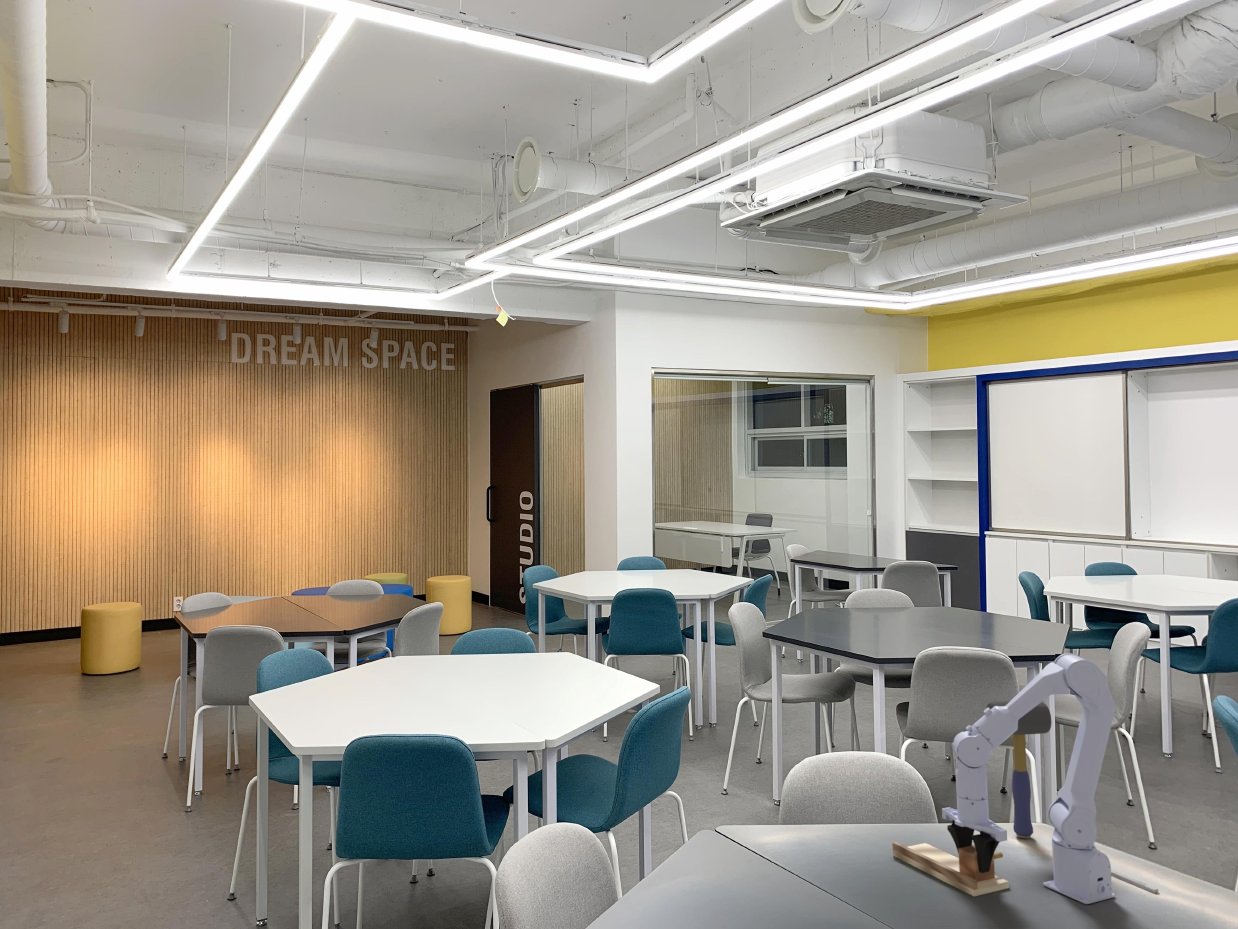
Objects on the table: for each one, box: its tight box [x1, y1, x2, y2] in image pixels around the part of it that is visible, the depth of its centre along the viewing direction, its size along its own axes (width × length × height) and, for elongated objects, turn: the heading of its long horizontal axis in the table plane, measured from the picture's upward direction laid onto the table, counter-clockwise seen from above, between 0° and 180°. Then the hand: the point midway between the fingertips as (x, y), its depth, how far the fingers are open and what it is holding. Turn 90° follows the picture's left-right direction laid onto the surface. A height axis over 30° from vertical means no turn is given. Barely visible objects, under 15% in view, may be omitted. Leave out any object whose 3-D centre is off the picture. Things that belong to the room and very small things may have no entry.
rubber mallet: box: [985, 699, 1052, 839], centre depth 190 cm, size 12×8×30 cm, turn 86°
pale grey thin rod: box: [1111, 869, 1159, 894], centre depth 166 cm, size 12×1×1 cm, turn 21°
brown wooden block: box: [958, 844, 1004, 882], centre depth 167 cm, size 4×9×5 cm, turn 114°
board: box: [892, 841, 1010, 897], centre depth 171 cm, size 22×9×3 cm, turn 24°
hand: (975, 867), depth 166 cm, fingers closed on brown wooden block, 4 cm apart
